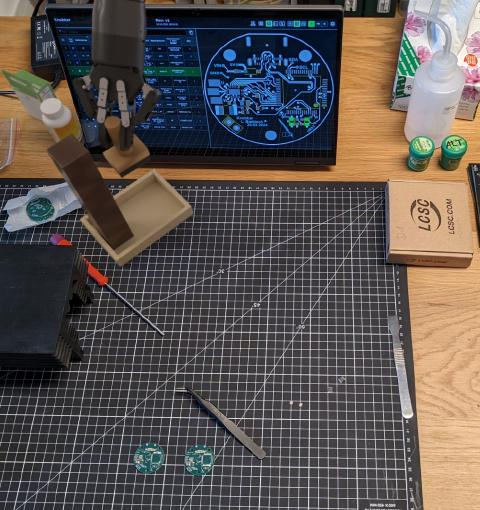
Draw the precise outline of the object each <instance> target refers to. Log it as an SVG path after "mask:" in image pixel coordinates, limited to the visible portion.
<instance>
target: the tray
mask: <svg viewBox="0 0 480 510" xmlns="http://www.w3.org/2000/svg"><path fill="white" fill-rule="evenodd" d="M112 196H113V198H114V199H115V201H116V203H117V205H118V207H119V209H120V211H121V212H122V214H123V216H124V218H125V220H126V222H127V224H128V225H129V227H130V229H131V231H132V233H133V235H134V236H133V237H132V238H131V239H129V240H128V241H126V242H125V243H124V244H122V245H121V246H119V247H118V248H117V249H115V250H113V249H112V248H111V247H110V246H109V245H108V243H107V242H106V241H105V240H104V239H103V238H102V237H101V236H100V234H99V233H98V231H97V229H96V228H95V226H94V225H93V223H92V222H91V220H90V218H89V217H88V215H87V214H85V215H84V216H82V217H81V218H80V219H79V221H80V222H81V224H82V225H83V226H84V228H86V230H87V231H88V232H89V233H90V235H91V236H92V237H93V238H94V239H95V240H96V241H97V242H98V244H99V245H100V246H101V247H102V248H103V250H105V252H107V254H108V255H109V256H110V257H111V259H112V260H113V261H115V263H116V264H117V266H119V267H123V266H124V265H125V264H127V263H128V262H130V261H131V260H133V259H134V258H135V257H136V256H138V255H139V254H140V253H143V251H145V250H146V249H147V248H148V247H150V246H151V245H153V244H154V243H156V242H157V241H158V240H160V239H161V238H162V237H164V236H166V235H167V234H168V233H170V231H172V230H173V229H174V228H176V227H177V226H179V225H180V224H182V223H183V222H184V221H186V220H187V219H188V218H190V217H191V216H193V215H194V210H193V206H192V205H190V203H189V202H188V201H187V200H186V199H185V198H184V197H183V196H182V195H181V194H180V193H179V192H178V191H177V190H176V189H175V188H174V187H173V186H172V185H171V184H170V183H169V182H168V181H167V180H166V179H165V178H164V177H163V175H161V174H160V173H159V172H158V171H157V170H156V168H153V169H151V170H149V171H148V172H147V173H145V174H144V175H142V176H140V177H139V178H138V179H136V180H135V181H134V182H132V183H130V184H129V185H127V186H126V187H124V188H123V189H122V190H120V191H119V192H117V193H116V194H115V195H112Z"/></svg>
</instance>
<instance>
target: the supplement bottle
mask: <svg viewBox="0 0 480 510" xmlns="http://www.w3.org/2000/svg"><path fill="white" fill-rule="evenodd" d="M40 109H41V111H42V113H43V115H42V119H43V121H42V122H43V124H44V125H45V127H46V129H47V130H48V132H49V133H50V136H51V137H52V139H53V140H54V142H55V144H56V143H57V142H59V141H61V140H62V139H64V138H65V137H67V136H69V135H70V134H73V135H74V136H75V137H76V138H77V139H78V140H79V141H80V142H81V140H82V138H83V133H82V130H81V128H80V126H79V124H78V123H77V121H76V119H75V117H74V115H73V113H72V112H71V110H70V108H69V107H68V106H67V105H64V104H63V103H62V101H61V100H60V98H59V99H58V97H57V98H49V99H46V100H45V101H43V102H42V104H41V106H40Z"/></svg>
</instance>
